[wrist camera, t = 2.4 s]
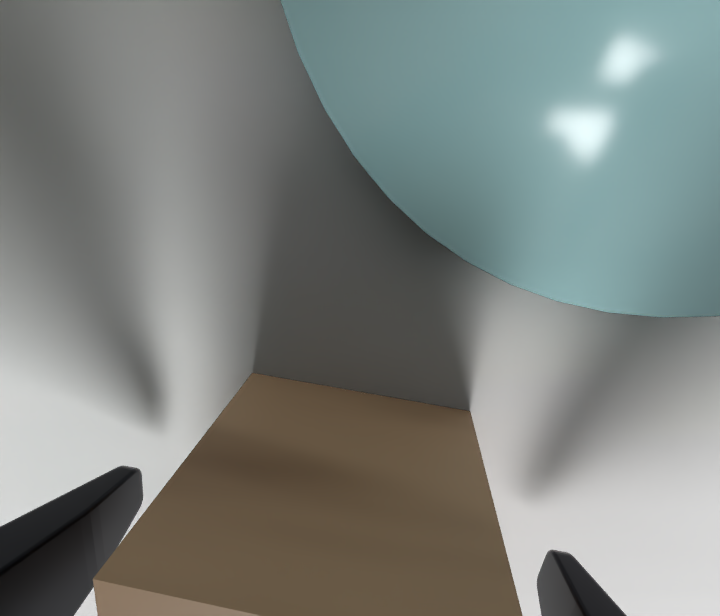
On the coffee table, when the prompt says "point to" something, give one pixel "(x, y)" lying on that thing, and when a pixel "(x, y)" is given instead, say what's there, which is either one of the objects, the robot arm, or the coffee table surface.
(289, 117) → the coffee table surface
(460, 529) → the tan block
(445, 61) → the teal dish
